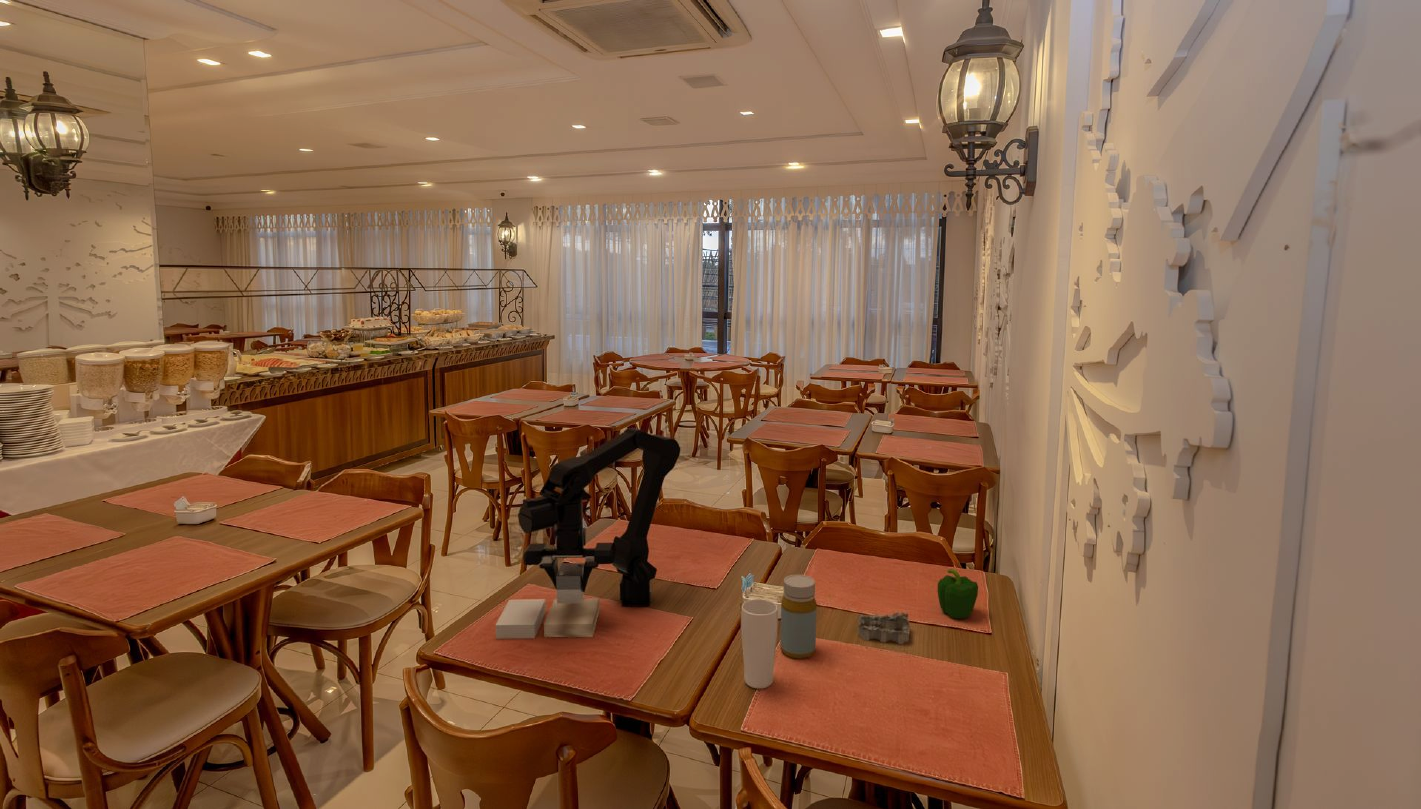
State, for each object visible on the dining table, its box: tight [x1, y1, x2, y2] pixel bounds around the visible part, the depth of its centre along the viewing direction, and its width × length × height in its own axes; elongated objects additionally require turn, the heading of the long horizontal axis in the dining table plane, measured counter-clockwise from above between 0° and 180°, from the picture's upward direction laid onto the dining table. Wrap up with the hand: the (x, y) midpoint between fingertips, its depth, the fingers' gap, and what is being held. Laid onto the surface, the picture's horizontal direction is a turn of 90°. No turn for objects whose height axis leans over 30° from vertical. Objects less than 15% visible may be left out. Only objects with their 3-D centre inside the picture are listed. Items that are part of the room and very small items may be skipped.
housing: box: [556, 562, 585, 603], centre depth 155 cm, size 5×7×6 cm
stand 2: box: [543, 597, 600, 639], centre depth 156 cm, size 10×12×3 cm
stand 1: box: [495, 598, 547, 640], centre depth 156 cm, size 8×12×3 cm, turn 2°
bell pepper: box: [937, 568, 979, 620], centre depth 160 cm, size 8×8×10 cm
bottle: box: [780, 574, 818, 660], centre depth 144 cm, size 7×7×15 cm
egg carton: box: [857, 612, 911, 645], centre depth 152 cm, size 11×8×4 cm
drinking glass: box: [740, 598, 779, 689], centre depth 133 cm, size 7×7×15 cm
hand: (571, 591), depth 155 cm, fingers closed on housing, 5 cm apart
